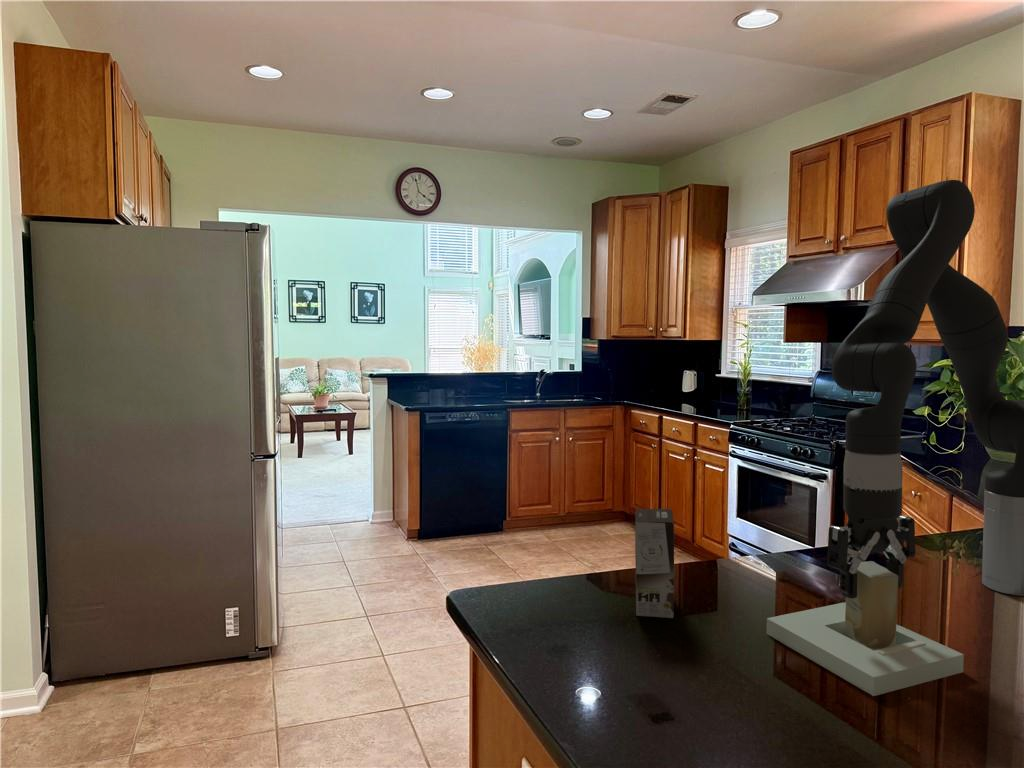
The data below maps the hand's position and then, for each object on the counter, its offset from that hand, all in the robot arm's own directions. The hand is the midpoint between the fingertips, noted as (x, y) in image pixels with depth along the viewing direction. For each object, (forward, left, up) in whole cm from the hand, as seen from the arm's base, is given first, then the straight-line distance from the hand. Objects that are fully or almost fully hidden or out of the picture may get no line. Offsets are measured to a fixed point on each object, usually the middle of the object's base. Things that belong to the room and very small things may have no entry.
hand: (871, 591), depth 102 cm
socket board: (+2, 0, -9) cm, 9 cm away
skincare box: (0, 0, -9) cm, 9 cm away
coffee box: (+20, -26, -9) cm, 34 cm away
